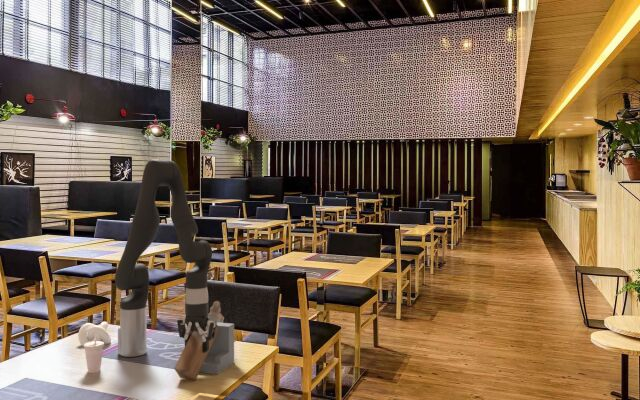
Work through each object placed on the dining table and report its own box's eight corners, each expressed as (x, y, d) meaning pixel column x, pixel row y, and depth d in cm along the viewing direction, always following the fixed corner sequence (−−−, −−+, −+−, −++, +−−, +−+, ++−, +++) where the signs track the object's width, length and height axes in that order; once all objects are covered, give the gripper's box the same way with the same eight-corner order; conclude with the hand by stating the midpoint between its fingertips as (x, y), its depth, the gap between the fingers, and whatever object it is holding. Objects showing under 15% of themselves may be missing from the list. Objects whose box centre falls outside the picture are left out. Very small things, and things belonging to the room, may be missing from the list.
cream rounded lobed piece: (119, 344, 202) (119, 321, 202) (95, 352, 192) (95, 329, 191) (99, 340, 207) (99, 318, 207) (74, 348, 196) (74, 325, 196)
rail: (180, 378, 164) (174, 368, 161) (205, 327, 179) (199, 317, 175) (195, 380, 162) (189, 370, 159) (219, 328, 177) (213, 318, 174)
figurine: (213, 350, 197) (217, 305, 191) (194, 343, 199) (198, 299, 193) (224, 338, 205) (229, 295, 199) (206, 332, 207) (210, 289, 201)
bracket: (183, 370, 172) (182, 329, 172) (201, 359, 184) (201, 320, 184) (217, 374, 168) (217, 332, 168) (234, 362, 180) (234, 323, 180)
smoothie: (108, 370, 172) (108, 329, 172) (94, 376, 166) (94, 334, 166) (93, 368, 174) (93, 327, 174) (79, 374, 168) (79, 332, 168)
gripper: (171, 301, 167) (171, 352, 167) (210, 304, 162) (210, 356, 163) (184, 297, 174) (184, 346, 174) (221, 299, 170) (221, 349, 170)
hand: (196, 351), depth 168 cm, fingers closed on rail, 5 cm apart
